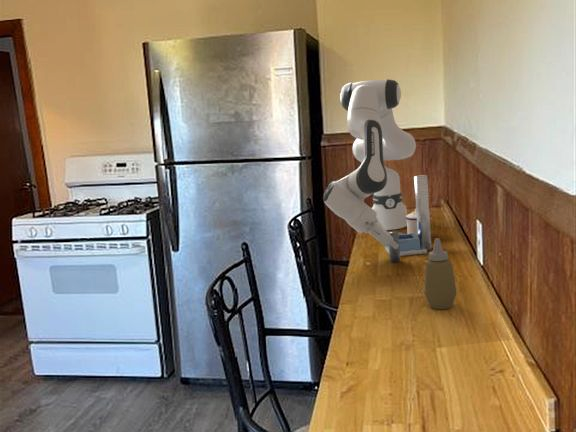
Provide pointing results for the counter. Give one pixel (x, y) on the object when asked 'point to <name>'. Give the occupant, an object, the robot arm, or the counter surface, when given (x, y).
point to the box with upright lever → (418, 222)
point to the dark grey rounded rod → (394, 252)
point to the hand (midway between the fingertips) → (395, 245)
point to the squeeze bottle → (439, 279)
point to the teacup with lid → (412, 223)
